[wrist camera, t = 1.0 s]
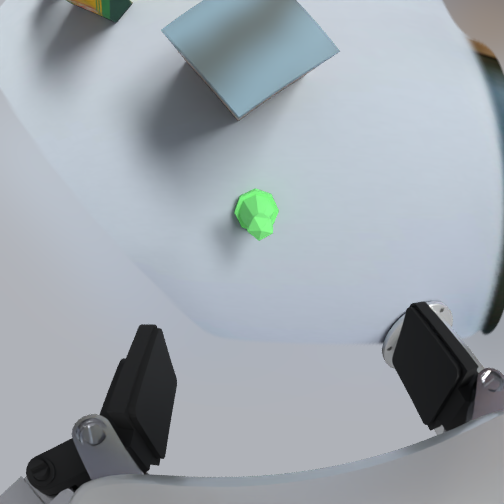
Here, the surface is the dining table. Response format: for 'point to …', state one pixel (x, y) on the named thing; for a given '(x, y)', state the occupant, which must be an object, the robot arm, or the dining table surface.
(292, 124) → the dining table surface
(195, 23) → the blue and brown block
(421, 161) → the dining table surface
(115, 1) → the crayon box
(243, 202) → the game piece
